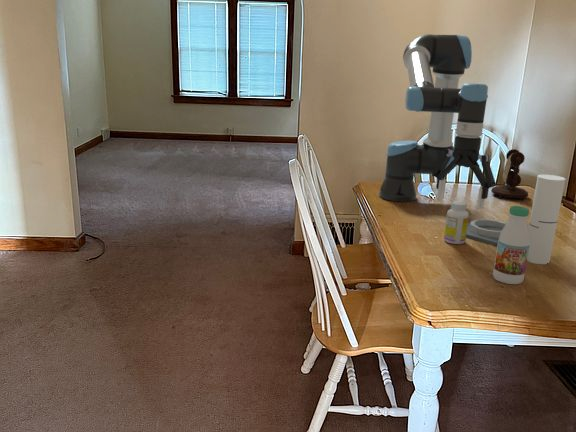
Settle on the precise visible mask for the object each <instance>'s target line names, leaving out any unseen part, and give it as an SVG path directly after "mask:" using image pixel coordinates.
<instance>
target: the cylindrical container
mask: <svg viewBox="0 0 576 432" xmlns="http://www.w3.org/2000/svg"><path fill="white" fill-rule="evenodd" d="M565 183H566V178H565V177H562V176H559V175H555V174H554V175H553V174H538V175H537V178H536V182H535V188H534V195H533V200H532V205H531V210H530V211H531V212H530V217H529V223H528V226H527V227H528V231H529V234H530V246H529V252H528V258H527V263H530V264H535V265H548V264H549V263H550V262H551V261H550V260H551V255H552V250H553V246H554V242H555V241H554V239H555V235H556V230H557V226H558V225H557V224H558V221H559V216H560V209H561V204H562V199H563V195H564V189H565V185H566V184H565ZM547 263H548V264H547Z"/></svg>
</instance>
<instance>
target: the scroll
mask: <svg viewBox="0 0 576 432" xmlns="http://www.w3.org/2000/svg"><path fill="white" fill-rule="evenodd" d="M505 157H506V162H505V165H504V169H503V173H502V182H503V183H504V184H505V185H503V184H502V185H496V186H495V187H491V193H492V194H494V195H496V196H498V197H499V199H502V198H503V197H504V198H505V197H506V198H515V199H517V198H518V199H519V198H521V199H522V201H525V200H526V198H527V197H529V192H528V191H527V190H526V189H525V188H523V187H518V186H519V185H520V184H521V182H522V177H521V176H520V175H519V173H520V166H521V165H522V164H524V162H525V155H524V153H523V152H521V151H519V150H517V149H516V148H513V149H510V150H508V151H507V152H506V156H505Z"/></svg>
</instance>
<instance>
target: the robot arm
mask: <svg viewBox="0 0 576 432" xmlns="http://www.w3.org/2000/svg"><path fill="white" fill-rule="evenodd" d="M472 53H473V52H472V42H471V39H470V38H469V36H466V35H458V34H430V33H429V34H428V33H427V34H423V35H420V36H418V37H416V38H413V40H411V41H410V42H409V43H408V45H406V47H405V49H404V52H403V54H402V55H403V56H402V60H403V65H404V66H405V68H406V69H407V73H408V80H409V85H410V86H409V87H408V88H407V89H406V93H405V109H406V110H407V111H411V112H412V111H413V112H417V113H420V112H426V113H430V118H429V125H428V133H427V134H428V135H427V137H425V138H424V139H423V142H422V144H419V143H418V141H416V140H399V141H394V142H391V143H389V145H388V147H387V151H386V152H387V153H386V164H385V173H384V174H385V175H384V179H383V182H382V184H381V186H380V188H379V194H378V196H379V197H380V198H381V199H383V200H386V201H391V202H392V201H393V202H401V203H402V202H403V203H405V202H412V201H416V200H417V190H416V186H415V180H414V179H415V178H414V177H415V174H416V175H417V174H418V175H431V176H432V177H435V178H436V189H437V197H436V200H437V201H441V200H444V198H445V190H446V182H447V179H446V178H445V177H446V176H447V175H449V174H450V173H451V172H452V171H453V170H454V169H455V168H456V167H457V166H458V167H464V168H470V170H471V171H472V172H473V173H474V175H475V177H476V179H477V181H478V182H479V184H480V186H481V187H479V189H478V196H477V198H478V199H477V204H476V209H477V210H481V209H484V206H485V200H486V199H488V196H489V190H490V188H491V189H492V188H493V187H496V186H497V184H496V180H495V177H494V174H493V170H492V168H491V167H492V166H491V164H490V155H489V154H480V150H481V143H482V138H481V136H483V127H484V121H485V114H486V107H487V100H488V97H489V96H488V93H489V91H488V90H489V86H488V85H487V84H485V83H474V82H473V83H471V82H470V83H469V82H467V83H463V84H462V85H461V88H459V82H460V78H461V77H462V76H463V75H465V69H466V70H467V69H470V67H471V63H472V57H473V55H472ZM431 68H432V70H431ZM432 73H433V74H432ZM433 75H434V76H435V81H434V79H433ZM455 114H457V121H456V129H455V134H456V136H455V137H454V142H453V141H452V140H451V135H452V127H453V120H454V115H455ZM478 161H479V162H480V163H481V167H482V169H481V168H480V164H479V163H478ZM482 170H483V171H482Z"/></svg>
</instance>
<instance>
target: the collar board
mask: <svg viewBox="0 0 576 432" xmlns="http://www.w3.org/2000/svg"><path fill="white" fill-rule="evenodd" d="M506 224H507V222H505V221H500V220H496V219H489V218H488V219H487V218H484V219H483V218H475V219H474V220H471V221H468V225H467V233H466V239H467V238H468V239H471V240H475V241H478V242H482V243H486V244H489V245H492V246H495V247H497V246H498V240H499V236H500V233H501V231H502V229H503V228H504V227H505V225H506Z"/></svg>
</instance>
